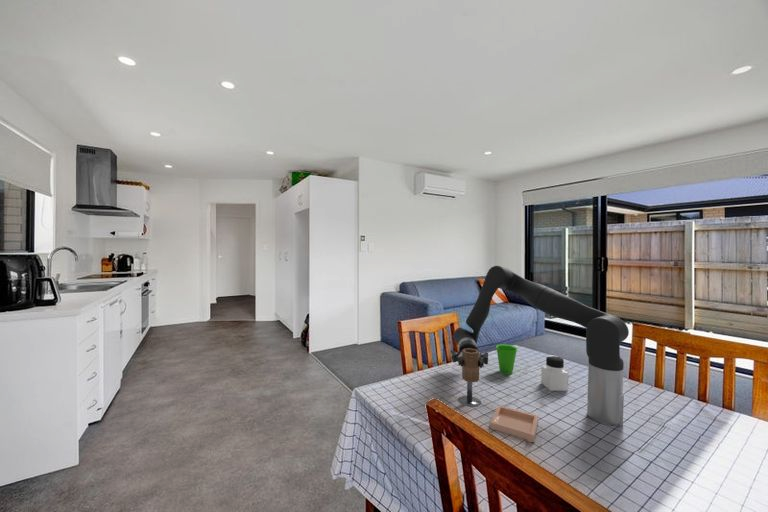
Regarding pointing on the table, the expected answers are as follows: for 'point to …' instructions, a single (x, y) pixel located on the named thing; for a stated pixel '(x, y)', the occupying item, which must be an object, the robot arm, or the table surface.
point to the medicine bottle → (554, 374)
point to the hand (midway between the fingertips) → (471, 364)
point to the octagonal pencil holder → (470, 365)
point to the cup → (506, 358)
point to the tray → (515, 423)
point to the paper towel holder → (469, 398)
